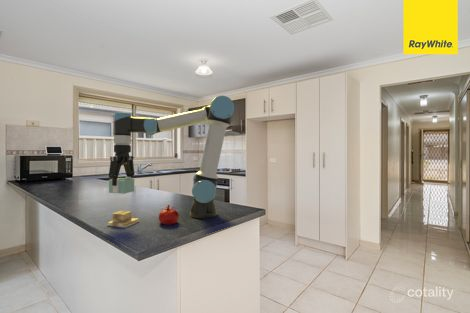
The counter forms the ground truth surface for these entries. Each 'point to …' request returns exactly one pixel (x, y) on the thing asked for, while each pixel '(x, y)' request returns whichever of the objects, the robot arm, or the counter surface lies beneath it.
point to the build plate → (133, 220)
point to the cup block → (123, 185)
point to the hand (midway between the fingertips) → (122, 191)
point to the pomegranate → (168, 216)
